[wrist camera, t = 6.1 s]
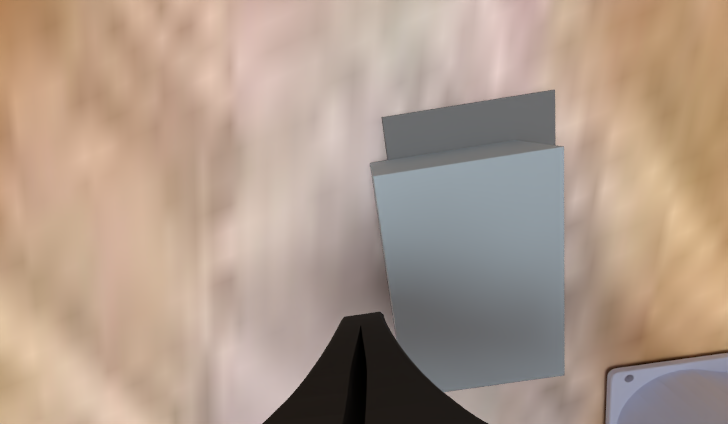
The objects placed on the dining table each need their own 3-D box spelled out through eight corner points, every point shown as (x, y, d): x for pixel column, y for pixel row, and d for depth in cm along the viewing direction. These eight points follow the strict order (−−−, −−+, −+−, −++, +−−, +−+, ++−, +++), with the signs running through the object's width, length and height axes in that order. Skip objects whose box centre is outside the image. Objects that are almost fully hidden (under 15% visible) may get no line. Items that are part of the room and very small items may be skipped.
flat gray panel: (550, 90, 16) (554, 89, 16) (553, 344, 20) (556, 349, 19) (381, 117, 16) (382, 117, 16) (415, 364, 20) (416, 368, 20)
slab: (369, 163, 17) (515, 140, 16) (396, 341, 19) (522, 323, 19) (372, 176, 13) (564, 146, 12) (406, 397, 15) (564, 375, 15)
